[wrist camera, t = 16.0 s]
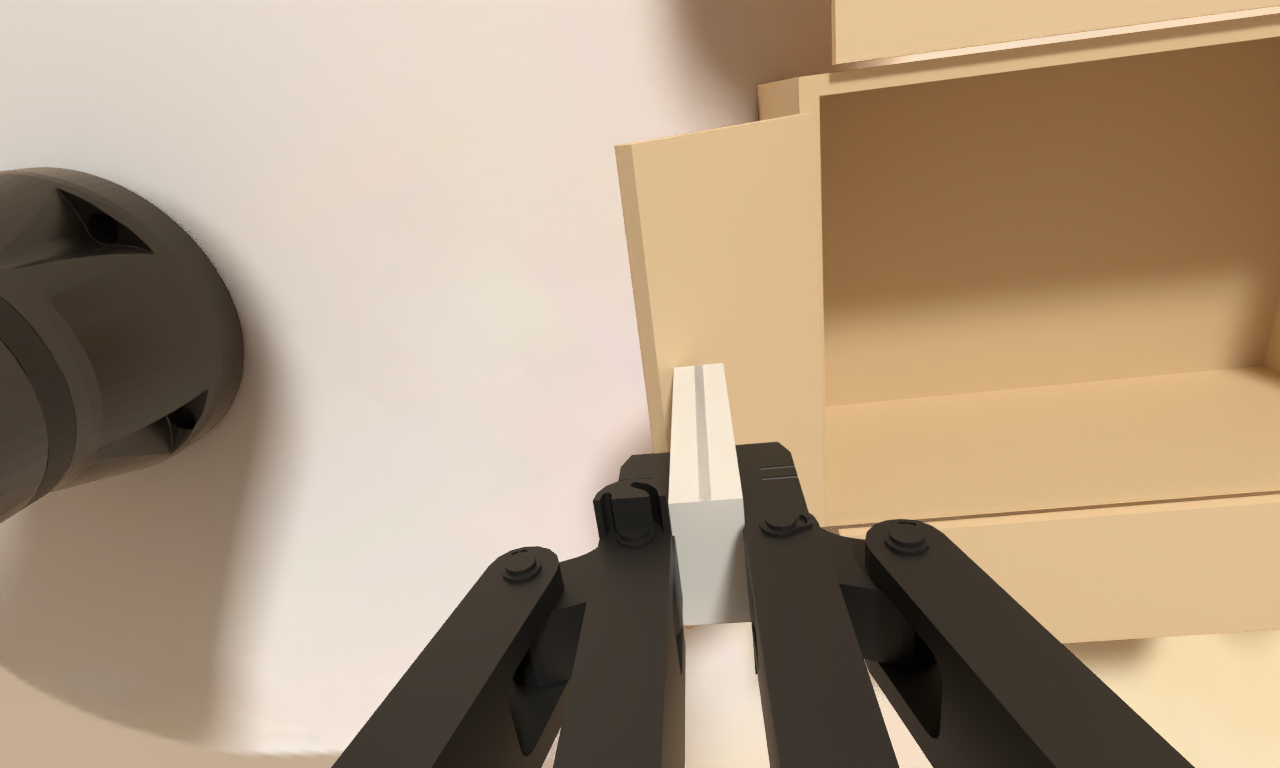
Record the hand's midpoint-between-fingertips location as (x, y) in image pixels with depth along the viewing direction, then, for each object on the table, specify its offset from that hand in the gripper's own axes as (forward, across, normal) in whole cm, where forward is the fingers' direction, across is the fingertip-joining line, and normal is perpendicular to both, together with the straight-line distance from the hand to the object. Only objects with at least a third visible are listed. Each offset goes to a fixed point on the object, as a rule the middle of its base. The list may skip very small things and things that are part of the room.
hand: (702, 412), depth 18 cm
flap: (+5, +4, 0) cm, 6 cm away
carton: (+16, +15, 0) cm, 22 cm away
